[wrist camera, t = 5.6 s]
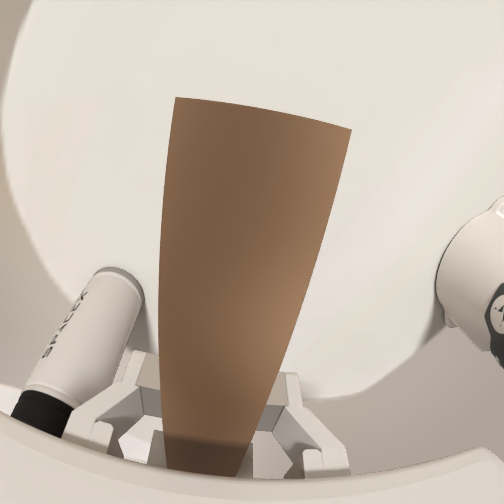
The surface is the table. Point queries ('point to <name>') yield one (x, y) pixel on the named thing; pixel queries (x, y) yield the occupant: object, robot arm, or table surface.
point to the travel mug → (82, 351)
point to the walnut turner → (234, 270)
